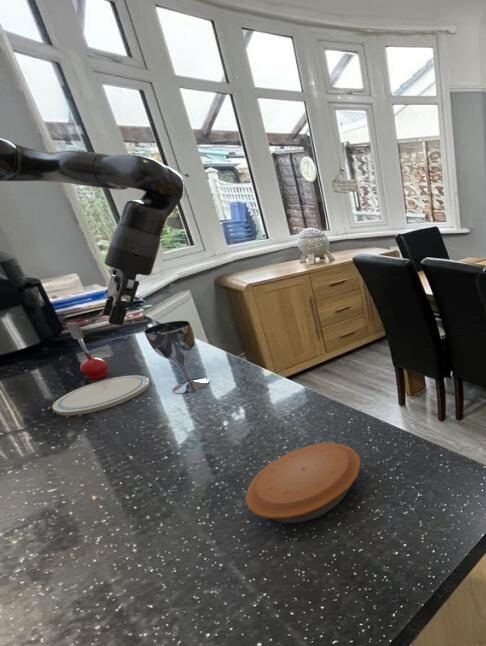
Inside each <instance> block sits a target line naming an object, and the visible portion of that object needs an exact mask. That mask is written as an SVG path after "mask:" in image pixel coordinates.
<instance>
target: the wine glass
mask: <svg viewBox="0 0 486 646" xmlns="http://www.w3.org/2000/svg"><path fill="white" fill-rule="evenodd" d="M193 331H194V330H193V328H192V326H191V323H190V322H189V321H187V320H174V321H173V320H172V321H168V322H163V323H160V324H155V325H152V326H150V327H147V328H146V329H145V330H144V331H143V333H144V335H145V338H146V340H147V341H148V344H149V345H150V346H151V348H152V349H153V350H154V352H155V353H156V354H157V355H159V356H160V357H162V358H164V359H166V360H169V361H171V362H174V363H175V364H176V365H178V366H179V368H180V369H181V371H182V373H183V374H184V377H185V379H186V380H185V381H182V382H181V383H179V384H177V385H176V386H174V387H173V388H172V392H173V393H174V394H186V393H191V392H194V391H197V390H200V389H202V388H204V387H206V386H207V385H208V384H209V383H210V382H209V380H210V379H209V380H207V379H208V378H207V379H206V377H197V378H191V376H190V373H189V369H188V365H187V363H188V359H189V357H190V355H191V353H192V351H193V350H194V348H195V336H194V335H195V334H194V332H193ZM208 382H209V383H208Z"/></svg>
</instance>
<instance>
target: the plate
mask: <svg viewBox="0 0 486 646" xmlns="http://www.w3.org/2000/svg"><path fill="white" fill-rule="evenodd" d="M150 385H151V382H150V380H149V378H148V377H147V376H144V375H140V374H139V375H138V374H137V375H136V374H135V375H131V374H130V375H123V376H122V375H121V376H117V377H112V378H107V379H103V380H100V381H96V382H93V383H90V384H86V385H83V386H81V387H79V388H77V389H74V390H72V391H69V392H68V393H66V394H65V395H63V396H61V397H59V398H58V399H57V400H56V401H54V403H53V404H52V406H51V407H52V408H51V409H52V410H53V412H54V414H56V415H59V416H66V417H68V416H79V415H87V414H90V413H91V414H92V413H96V412H100V411H103V410H107V409H109V408H113V407H115V406H118V405H121V404H123V403H125V402H128V401H130V400H132V399H135V398H136V397H138V396H140V395H141V394H143V393H144V392H146V391H147V389H148V388H149V387H150Z"/></svg>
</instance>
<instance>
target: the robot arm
mask: <svg viewBox="0 0 486 646" xmlns="http://www.w3.org/2000/svg"><path fill="white" fill-rule="evenodd" d="M0 182H52V183H53V182H54V183H63V184H64V183H65V184H71V185H78V186H86V187H93V188H100V189H107V190H114V191H115V190H116V191H123V190H127V189H135V190H138V191H139V190H140V191H143V192H144V193H143V195H142V196H141V198H140V199H139V200H128V201H126V202H125V204H124V205H123V208H122V211H121V214H120V216H119V220H118V224H117V225H116V228H115V230H114V231H113V234H112V236H111V240H110V243H109V246H108V249H107V253H106V256H105V259H104V264H105V266H107V267H110V268H113V270H112V271H111V272H112V273H111V275H110V278H109V283H108V285H107V288H106V290H105V294H106V295H105V297H106V300H105V304H104V306H103V310H102V314H103V316H106V317H108V320H107V321H108V323H109V324H110V325H115V326H122V325H123V324H124V321H125V318H126V316H127V312H128V310H129V309H132V307H133V306H134V301H135V298H136V295H137V291H138V288H139V285H140V281H139V280H137V275H140V276H141V275H142V276H150V275H151V274H152V271H153V269H154V265H155V262H156V260H157V255H158V253H159V249H160V246H161V238H162V236H163V231H164V228H165V225H166V222H167V219H168V218H169V216H170V215H171V214H172V213H173V211H174V210H175V208H176V207H177V206H178V204H179V203H180V201H181V199H182V197H183V195H184V192H185V183H184V180H183V177H182V176H181V174H179V173H178V172H177V171H176V170H174V169H173V168H171V167H169V166H167V165H165V164H163V163H161V162H159V161H158V160H156V159H154V158H150V157H148V156H144V155H137V154H117V155H111V154H105V153H98V152H92V151H85V150H74V149H73V150H70V149H69V150H61V151H55V152H53V151H52V152H51V151H50V152H49V151H43V150H37V149H34V148H30V147H27V146H23V145H20V144H17V143H14V142H11V141H9V140H8V139H5V138H4V137H2V136H0Z"/></svg>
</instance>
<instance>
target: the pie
mask: <svg viewBox="0 0 486 646" xmlns="http://www.w3.org/2000/svg"><path fill="white" fill-rule="evenodd" d="M361 466H362V463H361V457H360V455H359V454H358V452H357V451H356V450H355V449H353V448H351V447H350V446H348V445H345V444H340V443H336V442H319V443H314V444H311V445H306V446H303V447H301V448H298V449H294V450H291V451H289V452H287V453H286V454H283V455H282V456H280V457H277V458H275V459H274V460H273V461H271V462H270V463H269V464H267V465H265V466H264V467H263V468H262V469H261V470H260V471H259V472H258V473H257V474H256V475H255V476H254V477H253V479H252V481H251V483H250V484H249V486H248V488H247V490H246V491H247V492H246V494H245V498H244V500H245V503H246V506H247V509H249V510H250V511H251V512H252V513H253V514H255V515H256V516H259V517H262V518H266V519H271V520H273V521H276V522H279V523H283V524H300V523H305V522H309V521H312V520H314V519H317V518H319V517H321V516H323V515H325V514H326V513H328V512H330V511H331V510H333V509H334V508H335V507H337V505H339V504H340V502H342V501H343V499H344V498H345V497H346V495H347V494H348V492H349V490H350V488H351V486H352V485H353V483H354V482H355V480H357V478H358V475H359V473H360V469H361Z"/></svg>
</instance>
